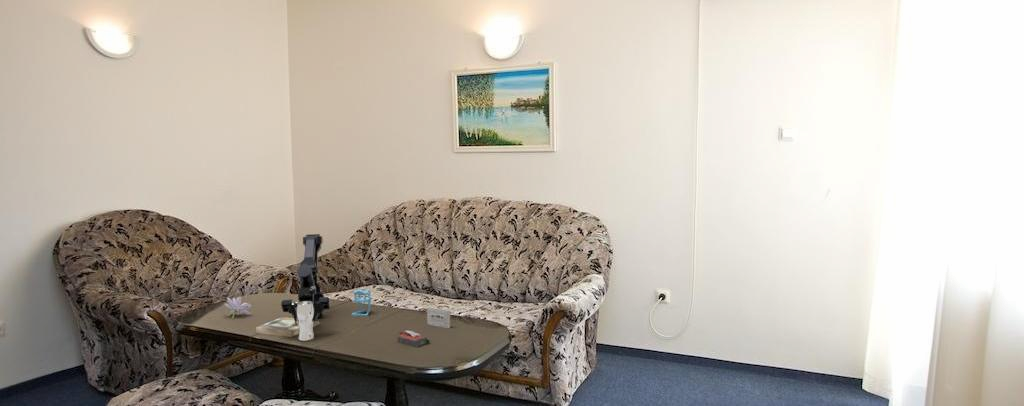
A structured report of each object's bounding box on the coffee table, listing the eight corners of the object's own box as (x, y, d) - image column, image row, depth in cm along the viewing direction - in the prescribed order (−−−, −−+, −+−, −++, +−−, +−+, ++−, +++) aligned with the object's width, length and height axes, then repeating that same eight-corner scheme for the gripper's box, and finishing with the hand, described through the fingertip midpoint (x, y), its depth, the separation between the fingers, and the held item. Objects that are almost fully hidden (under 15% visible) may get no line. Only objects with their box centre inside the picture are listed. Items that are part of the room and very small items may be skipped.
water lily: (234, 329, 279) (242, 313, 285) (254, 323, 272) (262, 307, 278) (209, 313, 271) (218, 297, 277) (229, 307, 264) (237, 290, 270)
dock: (286, 321, 268) (285, 313, 267) (319, 324, 262) (319, 316, 262) (256, 333, 250) (255, 324, 250) (291, 337, 244) (290, 328, 244)
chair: (374, 311, 282) (373, 287, 281) (367, 316, 274) (366, 291, 273) (359, 311, 283) (358, 286, 282) (351, 315, 275) (350, 290, 274)
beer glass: (309, 341, 238) (308, 305, 237) (293, 340, 239) (292, 304, 238) (318, 336, 245) (317, 301, 244) (303, 335, 246) (302, 300, 245)
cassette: (451, 327, 255) (450, 310, 255) (448, 328, 254) (448, 311, 253) (429, 323, 261) (428, 306, 261) (426, 324, 260) (426, 307, 259)
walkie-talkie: (434, 343, 235) (401, 333, 248) (433, 332, 235) (401, 323, 248) (417, 349, 229) (384, 339, 241) (417, 338, 228) (384, 328, 241)
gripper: (280, 280, 242) (277, 314, 232) (328, 278, 246) (327, 310, 236) (284, 295, 250) (281, 328, 240) (330, 292, 254) (329, 324, 245)
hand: (305, 322), depth 240 cm, fingers closed on beer glass, 7 cm apart
